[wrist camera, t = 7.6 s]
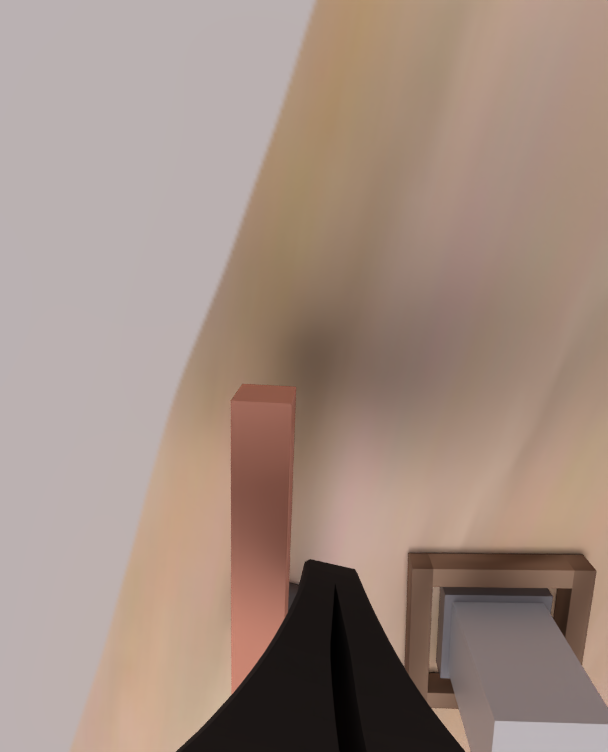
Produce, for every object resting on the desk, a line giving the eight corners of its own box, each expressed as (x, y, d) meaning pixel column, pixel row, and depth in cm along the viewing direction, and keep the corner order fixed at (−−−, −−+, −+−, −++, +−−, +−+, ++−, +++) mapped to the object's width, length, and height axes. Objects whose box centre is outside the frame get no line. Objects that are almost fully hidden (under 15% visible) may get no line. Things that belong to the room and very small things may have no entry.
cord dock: (583, 554, 23) (695, 687, 16) (563, 690, 25) (654, 860, 18) (230, 551, 24) (188, 674, 17) (241, 682, 26) (208, 839, 19)
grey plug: (543, 582, 23) (631, 716, 16) (533, 663, 24) (610, 819, 18) (440, 580, 23) (484, 712, 17) (436, 661, 25) (475, 813, 18)
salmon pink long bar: (215, 382, 13) (200, 399, 12) (323, 388, 13) (322, 405, 12) (220, 798, 18) (209, 850, 16) (301, 806, 18) (298, 859, 16)
